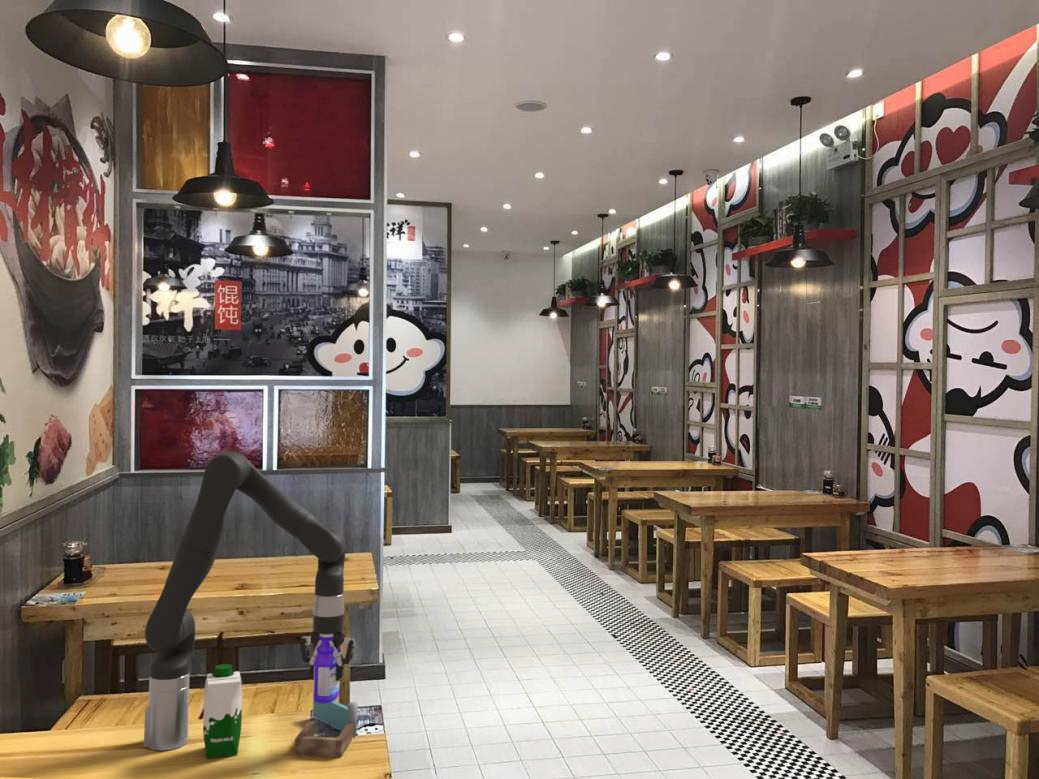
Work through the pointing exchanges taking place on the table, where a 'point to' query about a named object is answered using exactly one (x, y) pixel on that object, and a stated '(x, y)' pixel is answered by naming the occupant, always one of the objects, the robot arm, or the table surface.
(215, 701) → the milk carton
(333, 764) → the table surface
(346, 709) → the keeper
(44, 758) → the table surface
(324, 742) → the brown wooden tray
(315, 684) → the bottle
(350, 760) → the table surface
